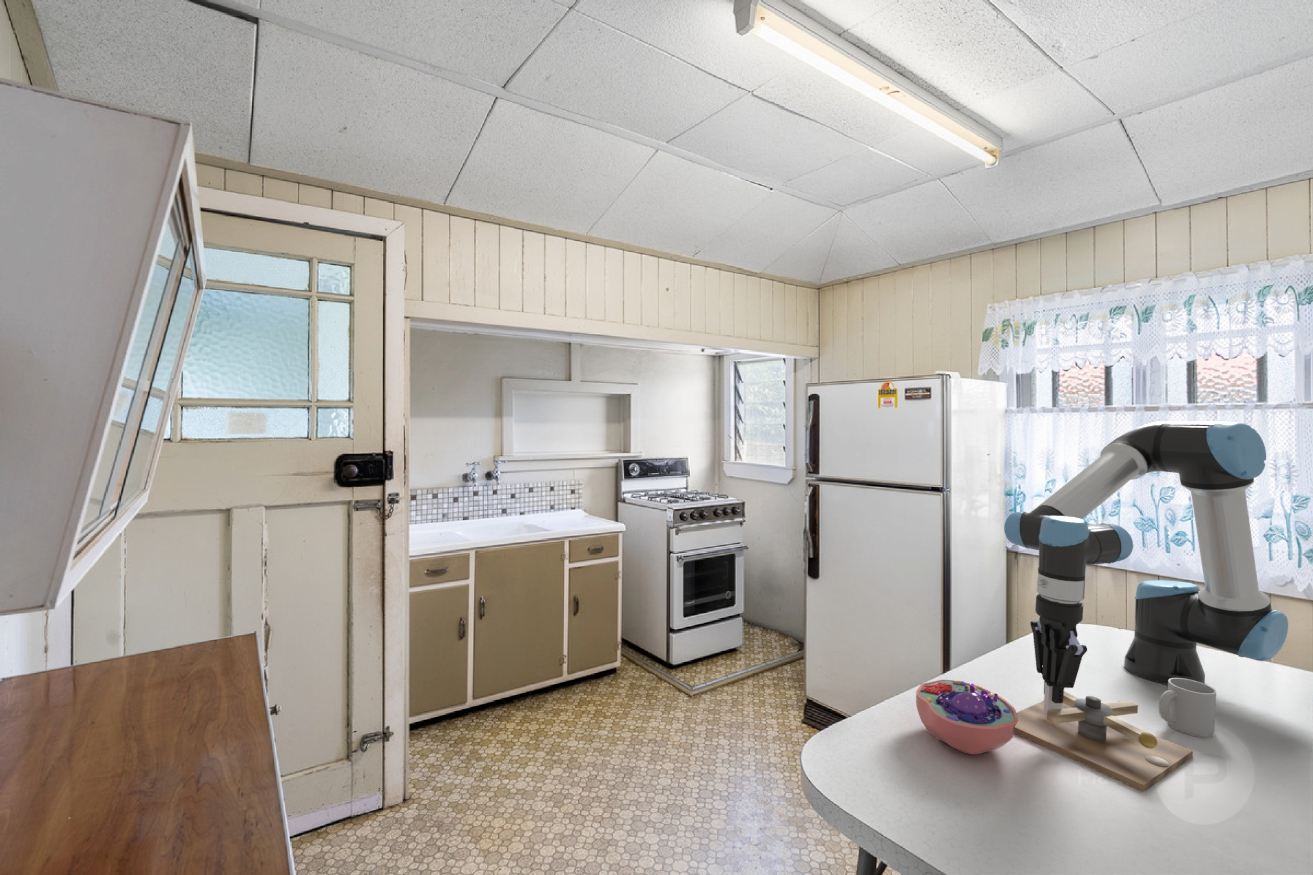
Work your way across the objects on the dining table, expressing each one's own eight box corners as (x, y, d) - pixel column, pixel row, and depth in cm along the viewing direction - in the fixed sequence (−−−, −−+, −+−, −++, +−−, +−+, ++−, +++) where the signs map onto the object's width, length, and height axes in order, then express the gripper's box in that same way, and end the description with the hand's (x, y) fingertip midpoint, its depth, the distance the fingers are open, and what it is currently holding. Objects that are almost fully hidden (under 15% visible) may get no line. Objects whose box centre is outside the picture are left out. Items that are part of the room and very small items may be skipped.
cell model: (1000, 725, 119) (1002, 670, 119) (1027, 782, 100) (1029, 717, 100) (910, 710, 125) (912, 658, 125) (920, 762, 106) (922, 700, 106)
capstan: (1008, 699, 121) (1008, 680, 121) (1085, 690, 126) (1085, 672, 126) (1110, 758, 100) (1111, 735, 100) (1198, 744, 105) (1199, 723, 105)
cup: (1224, 738, 116) (1226, 694, 115) (1175, 738, 115) (1177, 693, 115) (1190, 719, 123) (1192, 677, 123) (1144, 719, 123) (1145, 677, 122)
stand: (1052, 701, 130) (1053, 683, 130) (1192, 756, 109) (1193, 734, 109) (999, 725, 119) (999, 705, 119) (1143, 791, 98) (1144, 767, 98)
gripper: (1019, 586, 119) (1013, 698, 120) (1062, 608, 106) (1054, 734, 107) (1056, 587, 119) (1049, 699, 120) (1104, 609, 106) (1095, 734, 107)
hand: (1052, 715), depth 114 cm, fingers closed
